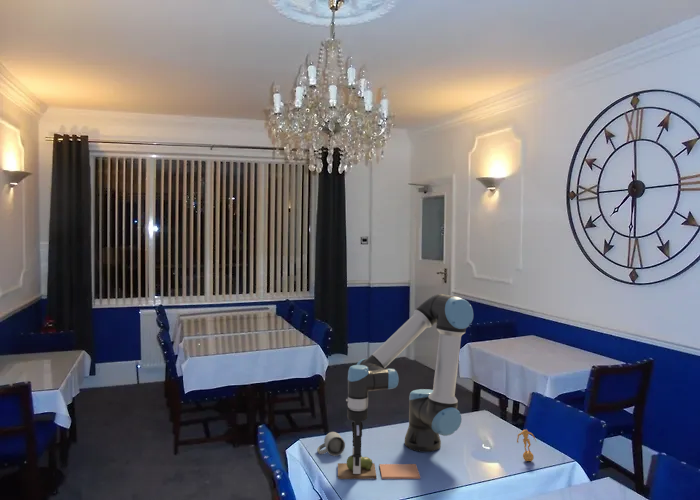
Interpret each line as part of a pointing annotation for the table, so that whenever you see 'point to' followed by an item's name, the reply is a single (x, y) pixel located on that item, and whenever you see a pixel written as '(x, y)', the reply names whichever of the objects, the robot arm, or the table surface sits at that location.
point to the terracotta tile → (399, 471)
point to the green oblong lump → (365, 462)
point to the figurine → (527, 454)
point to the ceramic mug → (332, 444)
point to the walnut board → (348, 474)
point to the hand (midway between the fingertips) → (356, 468)
